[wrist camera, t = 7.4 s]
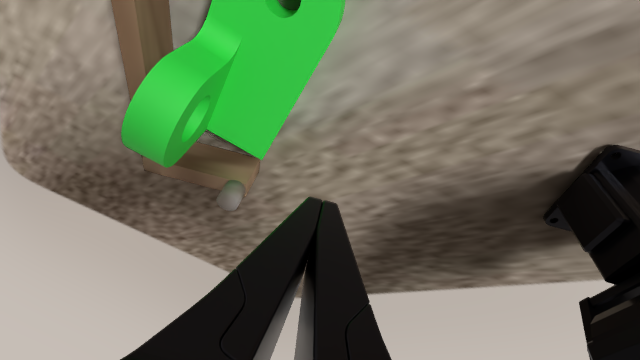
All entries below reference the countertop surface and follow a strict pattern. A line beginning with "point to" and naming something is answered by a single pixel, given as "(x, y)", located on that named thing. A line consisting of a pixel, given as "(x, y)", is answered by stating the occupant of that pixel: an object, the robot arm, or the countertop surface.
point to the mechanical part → (231, 78)
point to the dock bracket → (139, 58)
